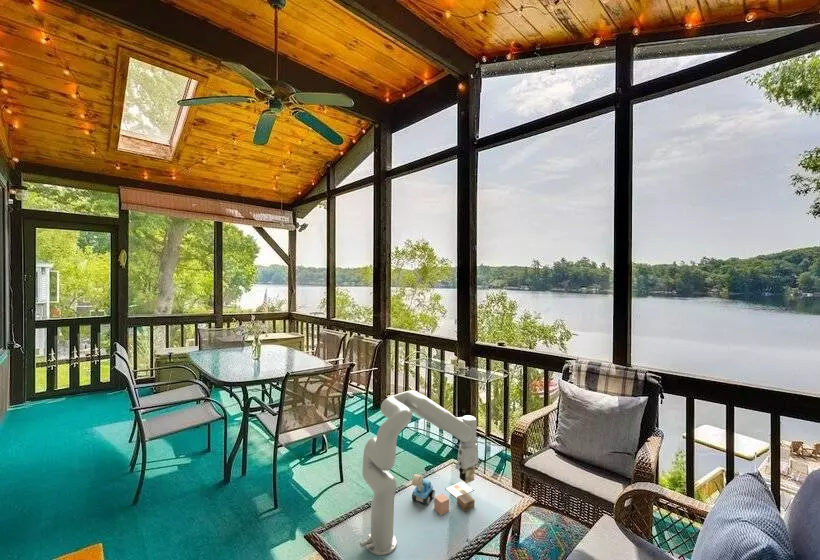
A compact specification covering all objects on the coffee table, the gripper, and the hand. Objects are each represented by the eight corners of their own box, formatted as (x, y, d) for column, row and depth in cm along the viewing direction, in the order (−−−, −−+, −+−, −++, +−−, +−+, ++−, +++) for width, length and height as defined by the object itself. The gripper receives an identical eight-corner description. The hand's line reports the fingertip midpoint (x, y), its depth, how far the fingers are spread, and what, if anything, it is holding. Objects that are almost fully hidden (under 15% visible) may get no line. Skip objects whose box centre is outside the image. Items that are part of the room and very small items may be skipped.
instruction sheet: (456, 498, 191) (456, 497, 191) (445, 488, 198) (445, 488, 198) (473, 490, 197) (474, 489, 197) (462, 481, 205) (462, 481, 205)
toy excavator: (405, 509, 182) (406, 474, 180) (420, 490, 196) (421, 458, 195) (421, 515, 178) (422, 480, 176) (435, 495, 192) (436, 463, 191)
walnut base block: (464, 511, 181) (464, 503, 181) (457, 504, 186) (457, 496, 186) (474, 507, 184) (474, 500, 184) (466, 500, 189) (467, 493, 189)
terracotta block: (440, 514, 178) (441, 502, 178) (434, 508, 182) (434, 497, 182) (448, 511, 181) (449, 499, 181) (442, 505, 185) (442, 493, 185)
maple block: (466, 483, 181) (467, 471, 180) (459, 478, 185) (460, 466, 185) (474, 480, 184) (474, 468, 183) (467, 474, 188) (467, 463, 187)
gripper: (460, 450, 175) (459, 487, 176) (486, 440, 185) (484, 476, 186) (449, 443, 181) (448, 479, 183) (475, 434, 191) (474, 468, 192)
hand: (466, 477), depth 184 cm, fingers closed on maple block, 5 cm apart
